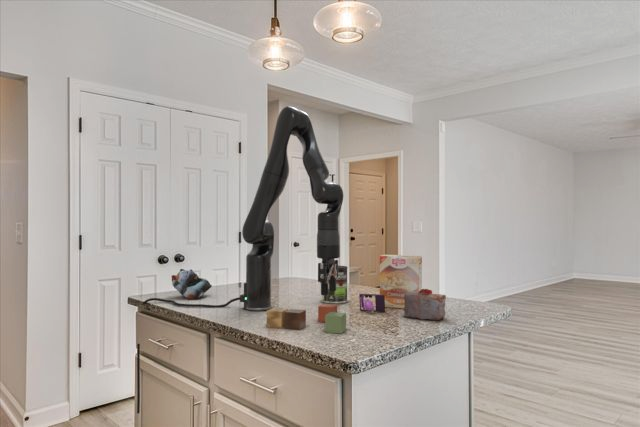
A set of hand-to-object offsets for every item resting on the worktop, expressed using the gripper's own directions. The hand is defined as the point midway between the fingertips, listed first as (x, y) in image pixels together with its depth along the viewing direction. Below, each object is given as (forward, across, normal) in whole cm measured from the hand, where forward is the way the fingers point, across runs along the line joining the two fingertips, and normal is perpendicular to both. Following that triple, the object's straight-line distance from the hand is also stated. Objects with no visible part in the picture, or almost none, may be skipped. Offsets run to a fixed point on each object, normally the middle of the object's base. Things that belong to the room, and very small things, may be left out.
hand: (328, 293), depth 147 cm
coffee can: (+9, -34, -9) cm, 36 cm away
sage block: (+9, +12, +6) cm, 16 cm away
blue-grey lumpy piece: (+8, -22, -69) cm, 73 cm away
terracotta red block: (+9, 0, 0) cm, 9 cm away
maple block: (+9, +12, -13) cm, 20 cm away
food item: (+10, -15, +29) cm, 34 cm away
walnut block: (+9, +12, -7) cm, 17 cm away
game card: (+9, -18, +10) cm, 23 cm away
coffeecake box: (+9, -32, +18) cm, 38 cm away
